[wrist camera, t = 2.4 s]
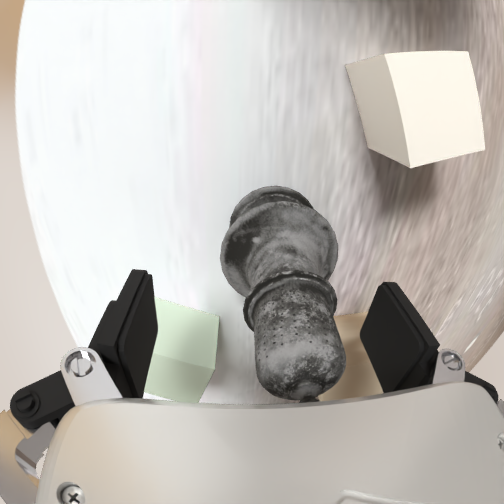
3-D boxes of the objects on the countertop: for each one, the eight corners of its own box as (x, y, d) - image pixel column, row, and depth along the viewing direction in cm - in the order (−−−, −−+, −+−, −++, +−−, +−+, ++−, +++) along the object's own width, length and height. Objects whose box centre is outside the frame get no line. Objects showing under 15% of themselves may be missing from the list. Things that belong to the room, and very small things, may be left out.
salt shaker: (326, 258, 18) (395, 427, 8) (238, 278, 19) (236, 459, 8) (313, 171, 16) (430, 317, 5) (212, 194, 16) (161, 373, 6)
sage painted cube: (219, 315, 21) (215, 369, 16) (202, 356, 23) (196, 405, 19) (153, 295, 20) (134, 346, 15) (145, 339, 22) (130, 387, 18)
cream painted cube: (415, 56, 12) (468, 51, 8) (433, 132, 14) (484, 149, 10) (344, 65, 13) (384, 53, 8) (367, 147, 15) (410, 168, 11)
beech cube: (375, 309, 21) (398, 356, 17) (364, 351, 23) (380, 395, 19) (314, 317, 21) (328, 369, 17) (310, 359, 23) (320, 407, 19)
